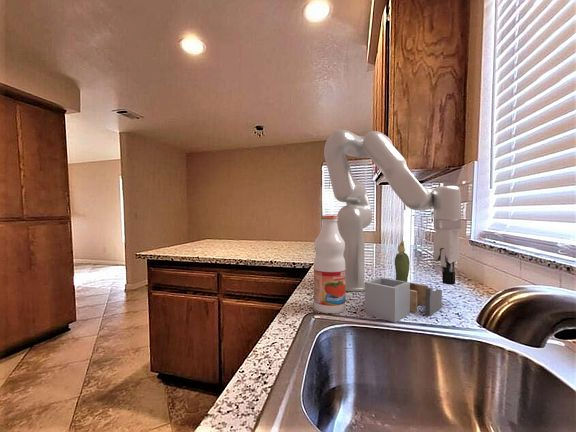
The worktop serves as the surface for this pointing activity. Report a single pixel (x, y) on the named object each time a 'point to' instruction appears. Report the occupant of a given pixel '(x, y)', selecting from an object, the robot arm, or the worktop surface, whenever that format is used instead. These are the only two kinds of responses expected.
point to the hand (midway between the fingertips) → (448, 283)
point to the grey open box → (387, 299)
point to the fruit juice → (329, 268)
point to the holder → (417, 296)
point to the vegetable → (402, 264)
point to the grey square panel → (432, 301)
